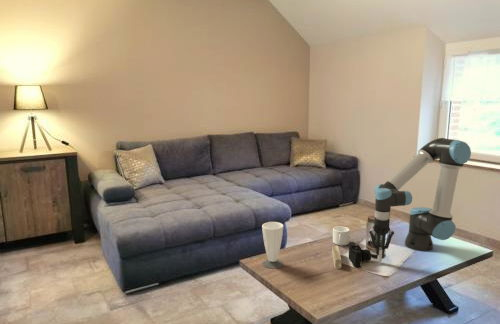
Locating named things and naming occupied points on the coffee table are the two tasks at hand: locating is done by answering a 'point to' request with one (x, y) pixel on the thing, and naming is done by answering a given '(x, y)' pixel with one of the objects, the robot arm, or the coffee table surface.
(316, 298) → the coffee table surface
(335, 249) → the board
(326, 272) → the coffee table surface
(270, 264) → the cup
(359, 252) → the camera
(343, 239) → the mug
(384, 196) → the robot arm
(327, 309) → the coffee table surface
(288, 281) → the coffee table surface
